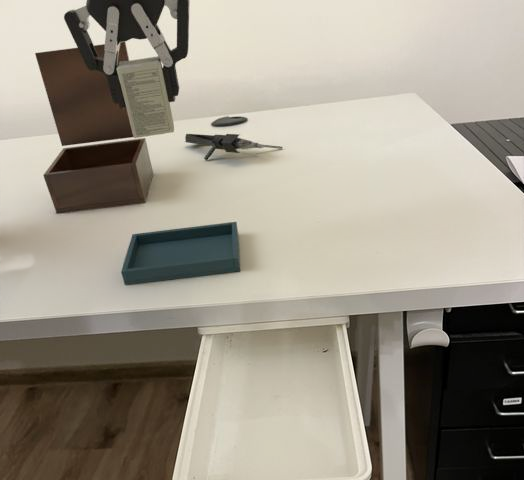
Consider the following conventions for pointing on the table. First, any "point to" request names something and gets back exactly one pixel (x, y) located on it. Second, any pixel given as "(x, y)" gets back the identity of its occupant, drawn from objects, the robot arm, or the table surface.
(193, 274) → the tray
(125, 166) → the chest
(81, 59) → the lid
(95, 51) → the robot arm
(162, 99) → the small box
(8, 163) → the table surface
